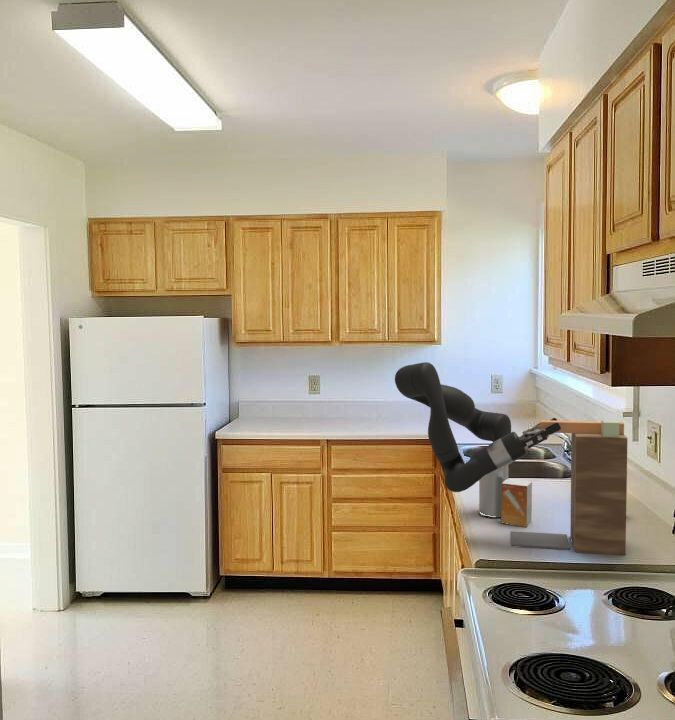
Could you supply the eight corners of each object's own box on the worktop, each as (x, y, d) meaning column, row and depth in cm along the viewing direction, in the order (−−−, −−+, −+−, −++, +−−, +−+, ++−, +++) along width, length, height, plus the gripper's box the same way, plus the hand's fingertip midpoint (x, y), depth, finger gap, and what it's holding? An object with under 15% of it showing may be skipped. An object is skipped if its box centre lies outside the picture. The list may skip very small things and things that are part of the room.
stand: (570, 536, 208) (571, 428, 206) (617, 539, 206) (619, 429, 203) (575, 552, 196) (576, 436, 193) (625, 555, 193) (627, 438, 191)
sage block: (601, 434, 196) (601, 420, 196) (616, 434, 195) (617, 420, 195) (603, 437, 192) (603, 422, 192) (619, 437, 191) (619, 422, 191)
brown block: (540, 430, 204) (540, 420, 203) (622, 432, 199) (622, 421, 199) (540, 432, 201) (540, 421, 200) (623, 434, 196) (624, 423, 196)
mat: (510, 533, 213) (510, 531, 213) (566, 536, 209) (566, 534, 209) (511, 546, 201) (511, 544, 201) (570, 550, 198) (570, 547, 197)
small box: (500, 524, 222) (501, 482, 221) (506, 518, 227) (506, 478, 226) (527, 527, 218) (527, 485, 217) (532, 522, 223) (532, 481, 222)
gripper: (499, 443, 198) (553, 415, 194) (499, 434, 212) (549, 407, 208) (513, 467, 197) (567, 439, 194) (512, 456, 211) (563, 430, 208)
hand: (558, 423), depth 201 cm, fingers open, 7 cm apart
